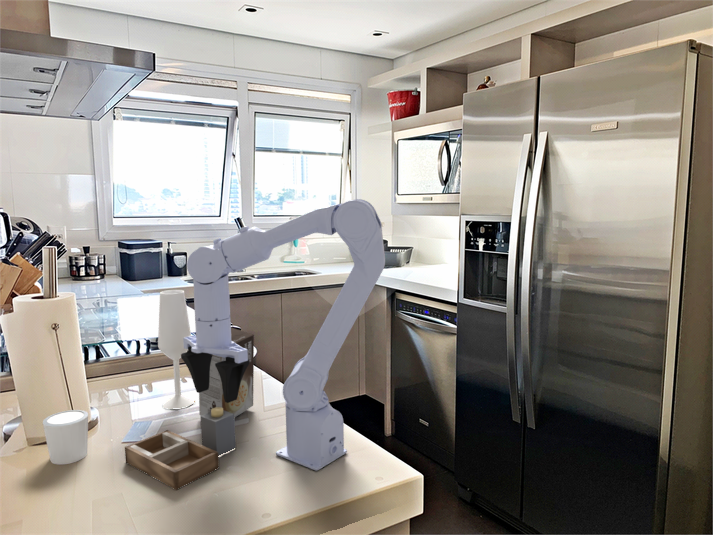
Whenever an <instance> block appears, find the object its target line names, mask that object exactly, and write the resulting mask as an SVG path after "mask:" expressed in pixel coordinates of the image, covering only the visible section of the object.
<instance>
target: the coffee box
mask: <svg viewBox="0 0 713 535" xmlns="http://www.w3.org/2000/svg"><path fill="white" fill-rule="evenodd" d="M254 336H255V334H254V333H253V334H252V333H249V332H247V331H244V330H241V329H237V328H234V327H231V341H233V342H234V343H236V344H237V345H239V346H241V347H242V348H245V349H247V350H248V358H249V359H250V363H249V365H248V367H247V368H246V370H245V372H244V375H243V377H242V380H241V384H240V388H239V392H238V397H237V400H234V401H232V402H229V403H226V402H225V400H224V396H223V388H222V382H221V378H220V375H219V372H218V370H217V368H216V366H215V363H218V362H221V361H226V358H224V357H220V356H216V355H212V359H211V364H210V382H209V389H208V390H206V391H203V392H200V393H198V400H199V401H198V404H199V408H198V409H199V410H198V411H199V416H202V415H205V414H207V413H210V412H211V409H213V408H216V407H221V408H223V410H224V411H227V412H230V413H233V414H234V417H235V418H236V417H238V416H239V415H241V414H242V413H244V412H246V411H247V410H249V409H250V408H252V407H253V406H254V374H255V373H254V369H255V368H254V366H255V364H254V362H255V358H254V356H255V352H254V351H255V350H254V349H255V348H254V343H255V339H254V338H255V337H254Z"/></svg>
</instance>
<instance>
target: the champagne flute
mask: <svg viewBox="0 0 713 535" xmlns="http://www.w3.org/2000/svg"><path fill="white" fill-rule="evenodd" d="M158 310H159V312H158V335H157V336H158V338H157V339H158V340H157V346H158V349H159V350H160V352H161V353H162V354H164V356H166V357H167V358H169V359H170V360H172V364H173V365H172V366H173V379H174V380H173V381H174V382H173V383H174V395H173V396H172V397H171V398H169V399H168V400H166V401H165V402H163V403H162V404H163V407H164V408H168V409H173V408H182V407H186V406H189V405H191V404H193V403H194V401H195V399H193V398H190V397H188V396H185V395H183V394H182V392H181V390H182V389H181V373H180V372H181V370H180V359H182V358H181V354H182V353H185V352H187V350H188V349H185V348H184V343H183V338H185V337H188V336H192V333H191V327H190V320H189V314H188V308H187V302H186V294H185V290H184V289H183V290H182V289H169V290H167V289H166V290H163V291H160V292H159V309H158ZM194 404H195V403H194ZM163 407H162V408H163ZM164 408H163V409H164Z"/></svg>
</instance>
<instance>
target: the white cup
mask: <svg viewBox="0 0 713 535" xmlns="http://www.w3.org/2000/svg"><path fill="white" fill-rule="evenodd" d="M42 425H43V431H44V436H45V437H44V438H45V441H46V446H47V451H48V455H49V459H50V462H51V463H52V464H54V465H67V464H72V463H76V462H79V461H81V460H82V459H84V458H86V456H87V455H88V444H89V442H88V441H89V437H88V436H89V432H88V431H89V412H88V411H86V410H83V409H82V410H81V409H70V410H64V411H59V412H56V413H53V414H51V415H48V416H46V418H44V419H43V420H42Z"/></svg>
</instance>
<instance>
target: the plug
mask: <svg viewBox="0 0 713 535" xmlns="http://www.w3.org/2000/svg"><path fill="white" fill-rule="evenodd" d="M199 416H200V415H199ZM235 418H236V417H235ZM235 418H234V414H233V413H230V412H227V411H224V410H223V408H221V407H216V408H213V409H211V412H210V413H207V414H205V415H202V416H200V432H201V445H203V446H205V447H207V448H210V449H212V450H214V451H217V452H218V456H219V455H221V454H223V453H226V452H228V451H230V450H232V449H234V448H236V449H237V447H236V446H237V445H236V444H237V443H236V442H237V441H236V424H235V422H236V421H235Z"/></svg>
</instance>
